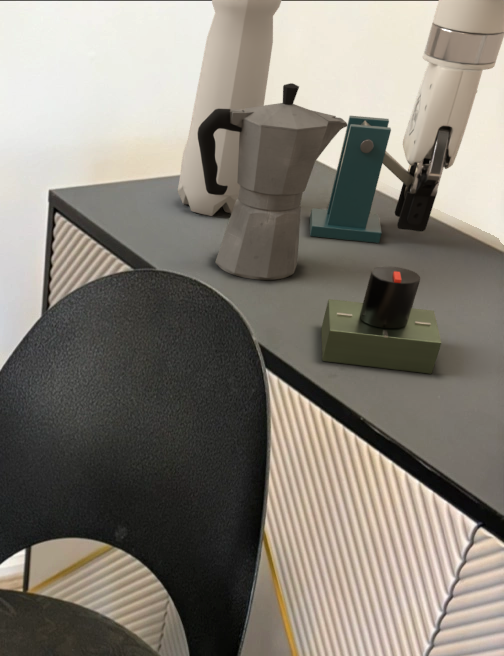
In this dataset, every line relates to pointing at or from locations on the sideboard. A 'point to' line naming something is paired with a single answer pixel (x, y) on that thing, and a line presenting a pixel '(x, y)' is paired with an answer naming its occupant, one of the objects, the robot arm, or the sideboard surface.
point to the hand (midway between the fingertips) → (409, 221)
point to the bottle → (227, 94)
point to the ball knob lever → (397, 169)
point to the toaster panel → (379, 339)
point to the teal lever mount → (355, 184)
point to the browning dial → (389, 297)
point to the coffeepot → (266, 181)
